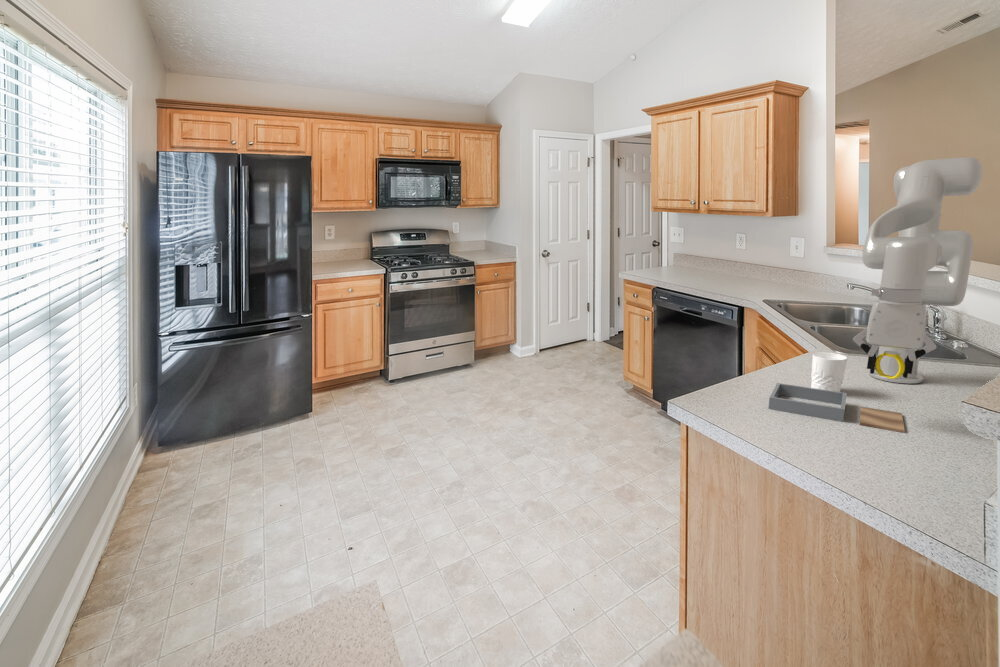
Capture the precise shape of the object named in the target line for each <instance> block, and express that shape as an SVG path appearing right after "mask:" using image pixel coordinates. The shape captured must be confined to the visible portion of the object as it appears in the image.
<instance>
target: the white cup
mask: <svg viewBox="0 0 1000 667" xmlns="http://www.w3.org/2000/svg"><path fill="white" fill-rule="evenodd" d="M811 358H812V360H811V375H810V376H811V378H810V379H811V384H810V385H811V386H810V388H816V389H822V390H829V391H836V392H841V388H842V384H843V381H844V378H845V373H846V372H845V371H846V366H847V361H848V356H846V355H843V354H839V353H834V352H827V351H826V352H825V351H821V352H814V353H812V357H811Z"/></svg>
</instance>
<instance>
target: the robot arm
mask: <svg viewBox="0 0 1000 667" xmlns="http://www.w3.org/2000/svg"><path fill="white" fill-rule="evenodd" d="M982 176H983V166H982V162H981V161H980V160H979V159H977V158H976V157H971V156H970V157H968V156H966V157H965V156H964V157H952V158H938V159H937V158H935V159H927V160H921V161H918V162H917V161H916V162H915V163H913V164H912V165H907V166H903V167H900V168H899V169H898V170H896V171H895V174H894V176H893V191H894V194H895V198H896V201H897V202H896V205H895V206H894V207H891V208H890V209H888V210H887V211H885V212H884V213H881V215H879V216H878V218H876V219H875V220H874V222H872V224H871V225H870V227H869V229H868V231H867V234H866V237H865V241H864V245H863V249H862V257H861V258H862V263H863V264H864V266H865V267H867V268H869V269H873V270H882V274H881V281H880V286H879V287H878V288H876V289H871V294H870V295H871V296H874V297H877V298H878V299H876V300H874V301H873V303H872V307H871V310H870V313H869V317H868V322H867V327H866V328H864V329H863V330H861V331H860V332H859V333H858V334H856V335H854V337H853V338H852V341H853V342H854V343H855V344H856V345H857V346H858V347H860V348H861V350H863V351H864V353H865V354H867V356H868V358H867V364H866V369H867V370H868V375H869V376H871V377H872V378H875V379H877V380H881V381H885V382H890V383H896V384H914V385H915V384H919V383H922V382H923V381H924V377H923V375H921V374H920V373H918V369H919V363H920V358H921V357H923V356H924V355H926V354H928V353H930V352H932V351H934V350H936V349H937V345H936V344H935V343H934V342H933V340H932V339H931V338H930V337H929V336H928V335H927V333H926V325H927V323H926V322H927V306H938V307H939V306H940V307H956V306H958V305H960V304H962V302H964V299H965V296H966V292H967V288H968V280H969V275H970V270H971V269H970V268H971V265H972V264H971V262H972V258H973V257H972V256H973V250H974V249H973V248H974V240H973V237H972V235H971V234H970V232H967V231H964V230H957V229H955V230H953V229H952V230H949V229H947V230H942V229H940V222H941V217H942V206H943V199H944V197H952V196H954V197H955V196H957V197H958V196H959V197H960V196H969V195H972V194H973V193H975V191H977V189H978V187H979V186H980V184H981V181H982ZM897 232H898V235H897V236H889V235H892V234H894V233H897ZM937 266H938V267H939V266H940V267H945V268H946V269H947V270H945V271H944V270H932V269H933V268H935V267H937ZM864 338H865V341H866V342H865V341H864V340H863V339H864ZM924 344H925V346H923V345H924ZM885 351H893V352H897V353H899V356H900V357H901V358H902V359H903V361H904V364H905V371H904V373H903V374H902V376H901V377H899V378H896V379H890V378H887V377H883V376H880V375H879V374H878V373H877V372H876V369H875V364H876V358H877V357H878V356H879V355H880V354H883V353H884V352H885ZM876 352H878V353H877V355H876ZM880 367H881V370H882V371H883V373H884V374H886V375H890V376H896V375H897V373H898V372H899V364H898V361H897V360H896V359H895V358H894V357H889V356H886V355H885V356H884V357H883V358H882V359H881V362H880Z"/></svg>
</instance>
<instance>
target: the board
mask: <svg viewBox="0 0 1000 667" xmlns="http://www.w3.org/2000/svg"><path fill="white" fill-rule="evenodd" d="M859 410H860V411H859V412H860V413H859V415H860V416H859V426H863V427H864V426H865V427H869V428H874V429H875V428H876V429H881V430H887V431H892V432H898V433H905V431H906V430H905V423H904V418H903V413H902V412H897V411H892V410H891V411H890V410H886V409H885V410H884V409H879V408H872V407H866V406H865V407H864V406H860V409H859Z"/></svg>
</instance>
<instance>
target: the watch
mask: <svg viewBox="0 0 1000 667" xmlns="http://www.w3.org/2000/svg"><path fill="white" fill-rule="evenodd" d="M885 355H886V356H889V357H894V358H895V359H896V360H897V361H898V364H899V372H898V373H897V375H896V376H890V375H886V374H884V373H883V371H882V370H881V367H880V362H881V359H882V358H883V357H884V356H885ZM875 369H876V372H877V373H878V374H879V375H880V376H883V377H887V378H890V379H896V378H899V377H901V376H902V374H903V373H904V371H905V364H904V361H903V359H902V358H901V357H900V356H899V353H897V352H893V351H885V352H884V353H883V354H880V355H879V356H878V355H877V356H876V364H875Z"/></svg>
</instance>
